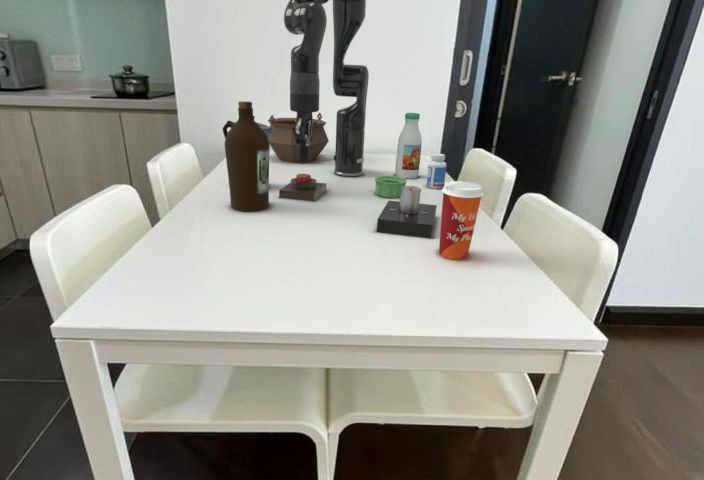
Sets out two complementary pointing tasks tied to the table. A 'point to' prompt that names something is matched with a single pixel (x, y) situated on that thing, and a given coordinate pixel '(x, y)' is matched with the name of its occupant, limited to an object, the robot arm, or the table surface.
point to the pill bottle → (436, 171)
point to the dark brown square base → (303, 190)
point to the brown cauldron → (286, 143)
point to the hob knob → (410, 199)
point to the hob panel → (407, 220)
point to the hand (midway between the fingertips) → (304, 160)
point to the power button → (303, 178)
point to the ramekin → (389, 186)
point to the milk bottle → (409, 148)
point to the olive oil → (247, 162)
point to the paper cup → (458, 218)
